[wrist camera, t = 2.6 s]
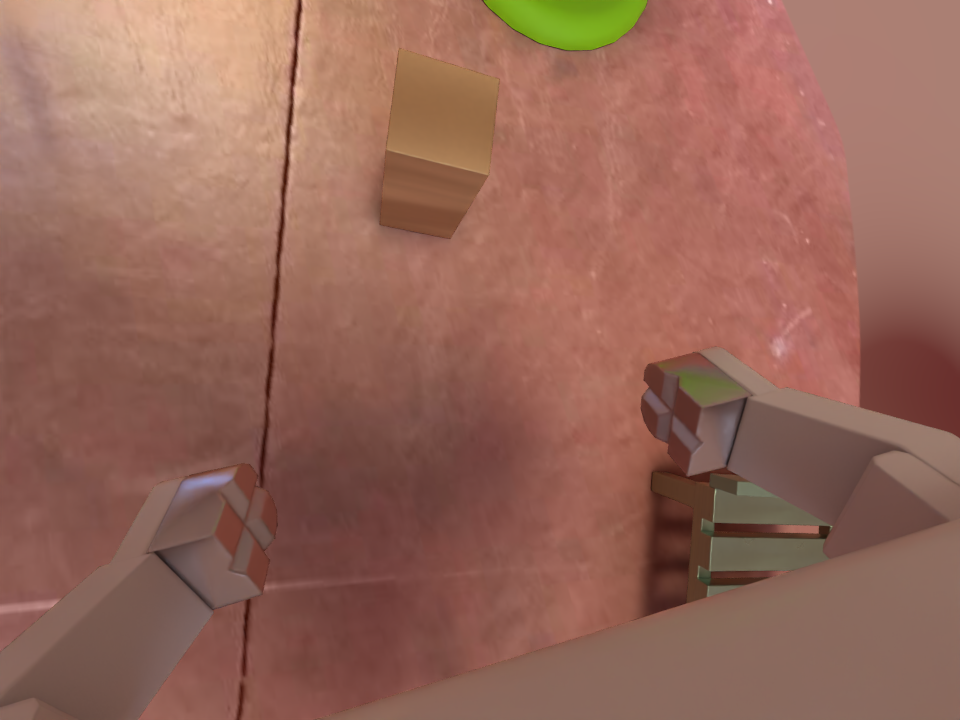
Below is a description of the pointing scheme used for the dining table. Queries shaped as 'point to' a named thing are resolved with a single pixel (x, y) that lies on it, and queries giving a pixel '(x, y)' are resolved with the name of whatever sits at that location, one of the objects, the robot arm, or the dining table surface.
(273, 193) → the dining table surface
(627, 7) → the wineglass
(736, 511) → the rack
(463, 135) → the block
